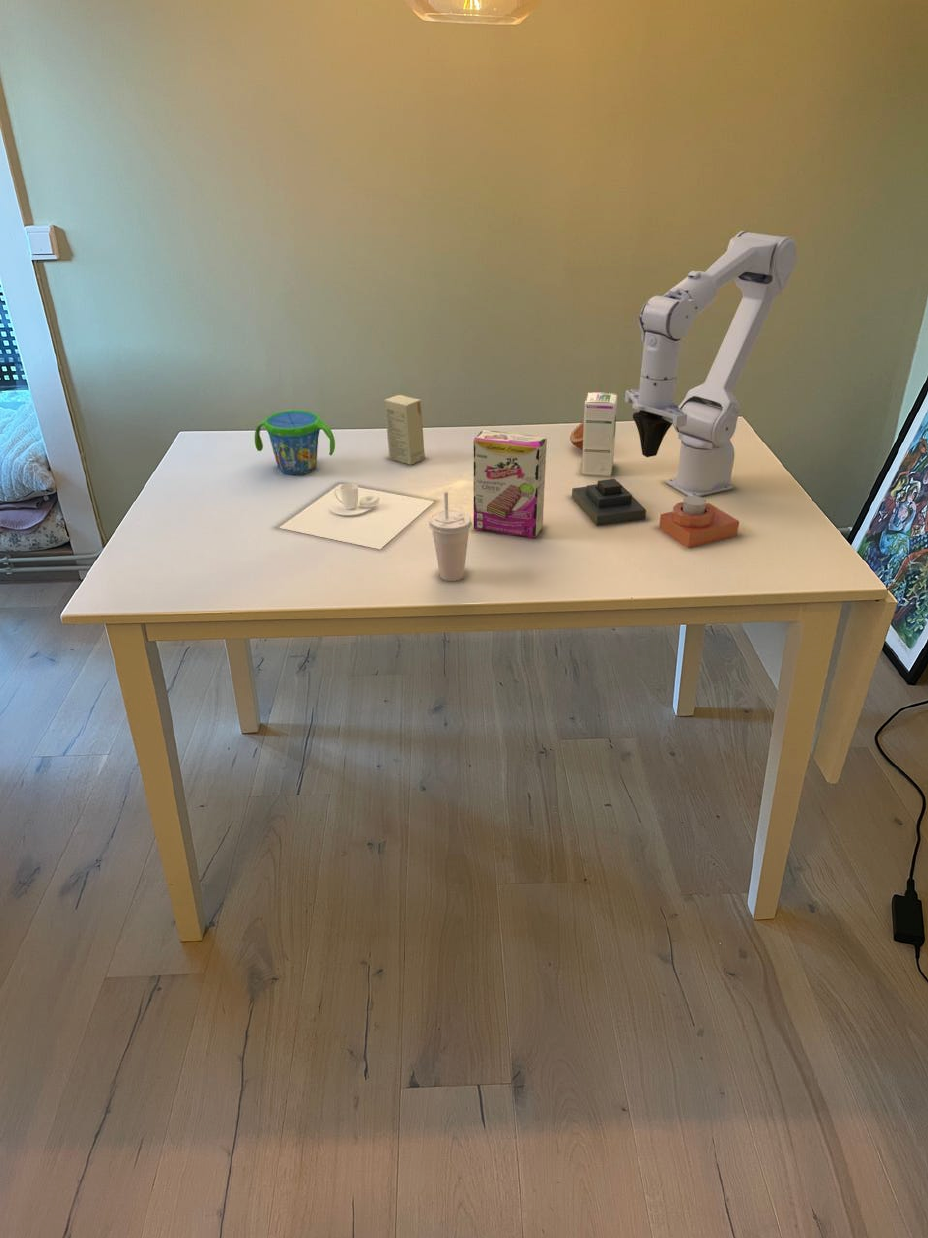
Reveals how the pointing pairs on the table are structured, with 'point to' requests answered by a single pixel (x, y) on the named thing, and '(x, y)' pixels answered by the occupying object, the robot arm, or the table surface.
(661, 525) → the orange knob plate
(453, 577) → the smoothie
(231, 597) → the table surface
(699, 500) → the gray push button
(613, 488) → the dark top block
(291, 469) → the snack cup
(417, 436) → the cosmetic box
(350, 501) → the teacup and saucer
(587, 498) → the dark gray socket plate
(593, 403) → the syrup box
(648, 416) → the robot arm
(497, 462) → the candy bar box
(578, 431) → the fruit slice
